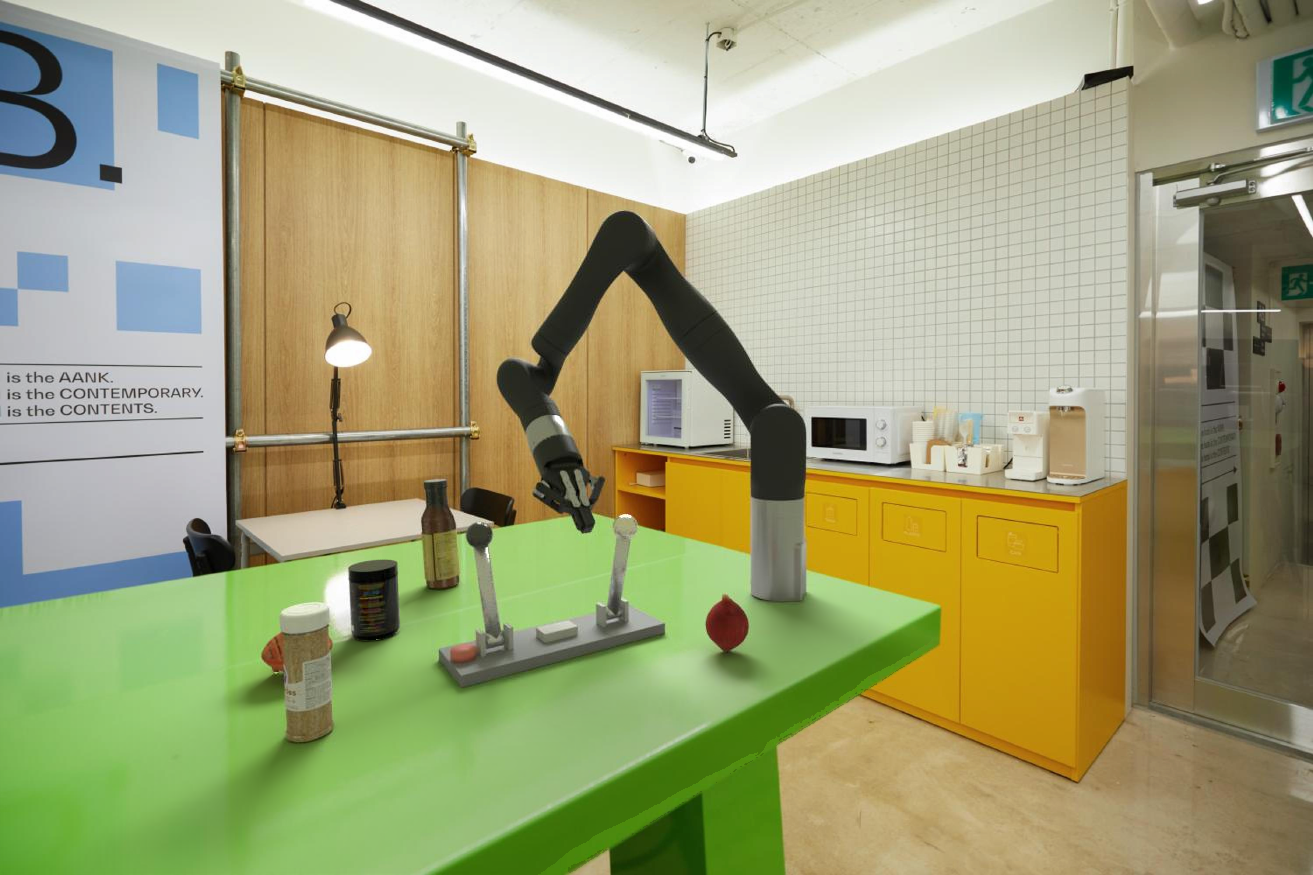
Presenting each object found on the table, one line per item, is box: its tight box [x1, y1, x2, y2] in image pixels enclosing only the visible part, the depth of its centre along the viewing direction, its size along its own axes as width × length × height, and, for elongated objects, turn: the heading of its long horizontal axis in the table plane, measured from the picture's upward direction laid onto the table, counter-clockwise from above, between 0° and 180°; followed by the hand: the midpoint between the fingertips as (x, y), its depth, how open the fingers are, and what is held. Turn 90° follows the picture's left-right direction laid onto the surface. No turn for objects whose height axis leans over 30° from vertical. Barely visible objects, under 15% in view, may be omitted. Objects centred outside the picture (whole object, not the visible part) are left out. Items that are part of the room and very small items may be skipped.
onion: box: [704, 593, 750, 653], centre depth 86 cm, size 6×6×8 cm
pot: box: [260, 630, 334, 673], centre depth 81 cm, size 8×8×7 cm
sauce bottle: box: [420, 478, 461, 590], centre depth 118 cm, size 7×6×20 cm
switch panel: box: [438, 597, 666, 688], centre depth 89 cm, size 10×30×4 cm, turn 124°
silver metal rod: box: [465, 521, 506, 649], centre depth 85 cm, size 4×4×17 cm
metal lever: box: [605, 514, 639, 620], centre depth 92 cm, size 4×4×17 cm
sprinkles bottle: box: [279, 601, 335, 743], centre depth 66 cm, size 5×5×14 cm
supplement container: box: [347, 559, 401, 641], centre depth 94 cm, size 7×7×10 cm
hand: (588, 530), depth 99 cm, fingers closed
